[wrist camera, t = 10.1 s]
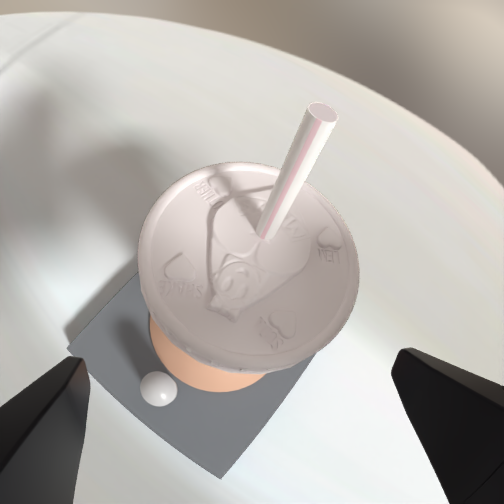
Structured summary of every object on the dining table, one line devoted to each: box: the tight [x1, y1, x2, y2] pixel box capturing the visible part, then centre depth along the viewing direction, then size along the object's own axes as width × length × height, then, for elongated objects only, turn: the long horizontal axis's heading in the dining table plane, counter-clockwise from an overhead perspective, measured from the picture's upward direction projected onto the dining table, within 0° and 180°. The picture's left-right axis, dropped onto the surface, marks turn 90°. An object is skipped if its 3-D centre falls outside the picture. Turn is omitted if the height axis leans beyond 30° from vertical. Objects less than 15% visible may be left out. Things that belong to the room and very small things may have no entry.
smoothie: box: [137, 102, 359, 374], centre depth 11 cm, size 6×6×14 cm
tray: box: [67, 271, 316, 479], centre depth 16 cm, size 14×11×4 cm
